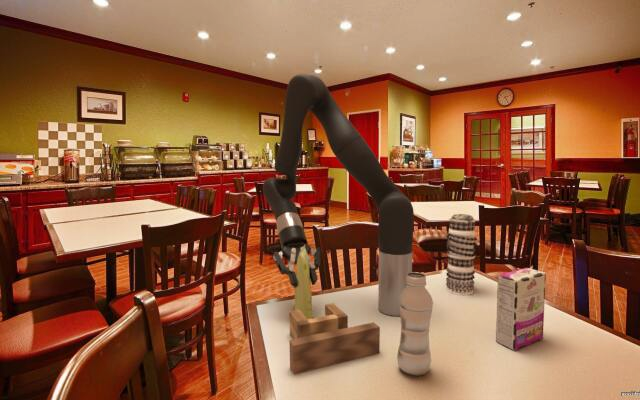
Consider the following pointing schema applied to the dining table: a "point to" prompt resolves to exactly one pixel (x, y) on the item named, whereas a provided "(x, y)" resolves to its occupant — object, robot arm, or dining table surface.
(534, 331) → the candy bar box
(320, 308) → the dining table surface
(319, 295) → the dining table surface
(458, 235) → the decorative candle
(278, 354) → the dining table surface
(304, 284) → the tube
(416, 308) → the plastic bottle
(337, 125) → the robot arm
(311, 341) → the wooden plank
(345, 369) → the dining table surface
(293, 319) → the block
